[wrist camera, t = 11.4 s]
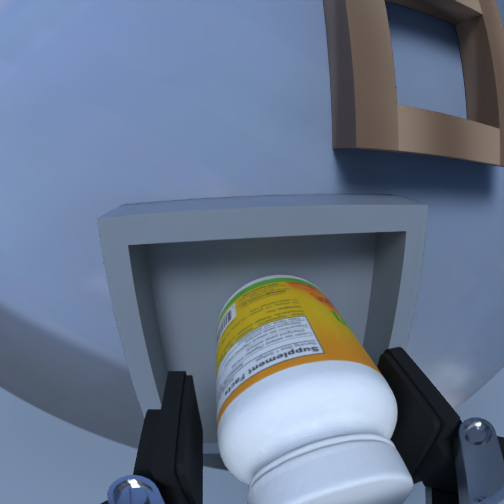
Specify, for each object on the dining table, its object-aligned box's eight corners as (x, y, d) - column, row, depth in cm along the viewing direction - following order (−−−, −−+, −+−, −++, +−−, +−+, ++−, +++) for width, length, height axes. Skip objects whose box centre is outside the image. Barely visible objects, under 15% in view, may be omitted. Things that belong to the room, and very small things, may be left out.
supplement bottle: (342, 345, 15) (433, 503, 6) (243, 384, 15) (267, 562, 6) (312, 252, 13) (451, 415, 4) (196, 299, 13) (173, 511, 4)
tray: (391, 194, 13) (428, 205, 11) (363, 395, 17) (381, 428, 14) (123, 204, 12) (97, 218, 10) (163, 414, 16) (158, 453, 13)
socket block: (470, 10, 11) (495, 0, 8) (487, 164, 13) (518, 169, 11) (317, -39, 10) (332, -64, 7) (332, 148, 13) (356, 147, 10)
